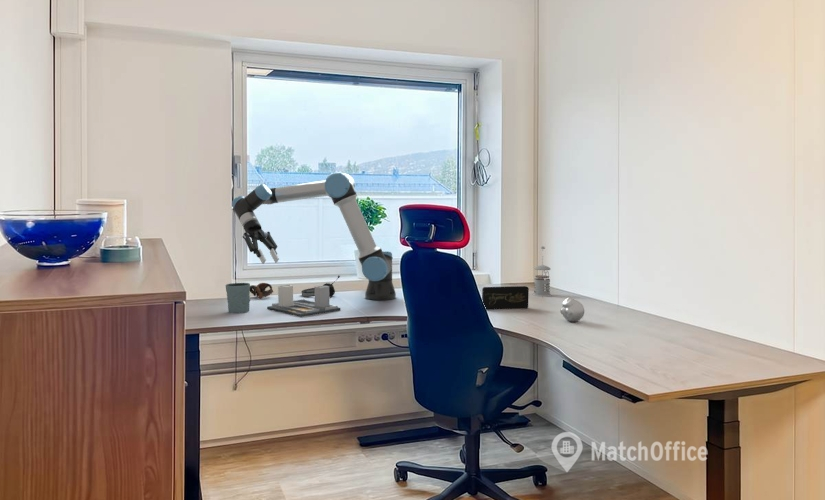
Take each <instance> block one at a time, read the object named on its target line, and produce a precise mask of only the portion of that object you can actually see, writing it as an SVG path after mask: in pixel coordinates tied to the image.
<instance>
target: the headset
mask: <svg viewBox="0 0 825 500" xmlns="http://www.w3.org/2000/svg"><path fill="white" fill-rule="evenodd" d="M340 277H341V275H338V276H337V278H336V280H338V279H339V278H340ZM322 286H329V298H330V296H331V297H333V296H334V295H335V294H336V293H335V292H336V289H335V287H334V282H332V283H330V282H326V283H323V284H322ZM300 293H301V296H302V297H303V296H304V298H309V297H315V287H312V288H306V289H303V290H301V292H300Z"/></svg>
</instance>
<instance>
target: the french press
mask: <svg viewBox="0 0 825 500" xmlns="http://www.w3.org/2000/svg"><path fill="white" fill-rule="evenodd" d="M540 249H542V250H544V249H546V247H545V246H543V245H542V246H540ZM541 260H542V264H541V265H537V266H535V267H534V270H536V271H541V274H540V275H535V278H534V289H533V290H534V293H533V294H532V296H534V297H542V298H543V297H544V298H546V297H552V294H551V288H550V287H551V285H550V284H551V279H550V274H549V271H551V267H549V266H547V265H544V264H543V263H544V257H542V259H541ZM543 274H545V275H543ZM547 274H548V275H547Z"/></svg>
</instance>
